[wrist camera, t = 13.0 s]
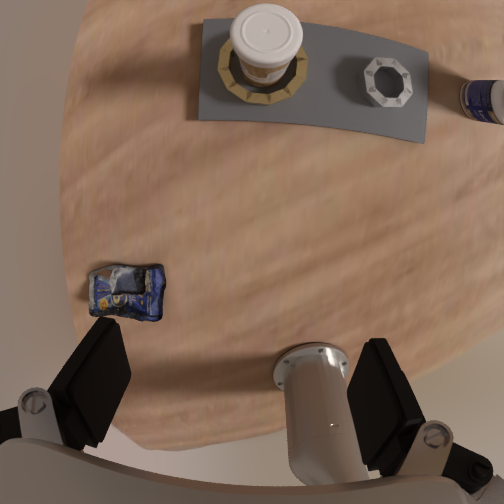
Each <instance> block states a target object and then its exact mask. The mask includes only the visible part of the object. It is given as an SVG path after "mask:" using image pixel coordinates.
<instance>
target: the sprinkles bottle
mask: <svg viewBox="0 0 504 504" xmlns="http://www.w3.org/2000/svg"><path fill="white" fill-rule="evenodd" d="M230 39H231V43H232V46H233V48H234V51H235V52H236V54H237V55H238V57H239V60H240V64H241V69H242V74H243V76H244V78H245V79H246V80H247V81H248V82H249V83H251V84H252V85H254V86H257V87H270V86H273V85H275V84H277V83H278V82H279V81H280V80H281V79H282V78H283V76H284V73H285V71H286V69H287V67H288V65H289V63H290V61H291V59H293V57H294V56H295V55H296V54H297V52H298V50H299V48H300V46H301V43H302V39H303V30H302V27H301V24H300V22H299V20H298V19H297V17H296V16H295V15H294V14H293V13H292V12H290V11H289V10H287V9H286V8H284V7H281V6H279V5H275V4H256V5H253V6H250V7H248V8H246V9H244V10H243V11H241V12H240V13H239V14H238V15H237V16H236V17H235V19H234V20H233V22H232V24H231V28H230Z"/></svg>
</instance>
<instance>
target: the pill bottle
mask: <svg viewBox="0 0 504 504" xmlns="http://www.w3.org/2000/svg"><path fill="white" fill-rule="evenodd" d="M460 101H461V105H462V108H463V110H464V112H465V113H466V114H467V116H468V117H469V118H471V119H472V120H475V121H481V122H488V123H495V124H501V125H504V81H503V80H473V81H467V82H465V83H464V84H463V86H462V87H461V90H460Z"/></svg>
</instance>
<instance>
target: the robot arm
mask: <svg viewBox="0 0 504 504" xmlns="http://www.w3.org/2000/svg"><path fill="white" fill-rule="evenodd" d="M348 372H349V361H348V357H347V356H346V354H345V352H344V351H342V350H341V349H340V348H338V347H336V346H334V345H331V344H326V343H311V344H306V345H302V346H299V347H296V348H294V349H292V350H290V351H288V352H286V353H285V354H284V355H283V356H281V357H280V358H279V360H278V361H277V362H276V364H275V366H274V370H273V378H274V382H275V384H276V386H277V387H278V388H279V389H280V390H282V391H283V392H284V398H285V412H286V426H287V442H288V456H289V457H288V458H289V465H290V468H291V471H292V472H293V474H294V475H295V476H296V478H298V479H299V480H300V481H301V482H302V483H304V484H306V486H287V487H286V486H281V487H280V486H276V487H275V486H274V487H273V486H245V485H231V484H221V483H211V482H204V481H197V480H190V479H184V478H178V477H172V476H167V475H162V474H158V473H153V472H149V471H144V470H140V469H136V468H133V467H129V466H125V465H122V464H118V463H115V462H112V461H108V460H105V459H102V458H99V457H95V456H92V455H89V454H87V453H84V451H83V449H84V447H85V445H88V446H91V447H94V448H97V445H98V443H99V442H103V440H104V438H105V435H106V433H107V431H108V428H109V426H110V424H111V421H112V419H113V417H114V415H115V412H116V410H117V408H118V406H119V403H120V401H121V399H122V397H123V394H124V392H125V390H126V388H127V386H128V383H129V381H130V379H131V370H130V366H129V363H128V359H127V355H126V351H125V347H124V343H123V338H122V334H121V330H120V326H119V324H118V323H116V321H115V319H113V318H107V317H102V316H101V317H99V318H98V320H97V321H96V322H95V323H94V325H93V326H92V327H91V329H90V330H89V331H88V333H87V334H86V336H85V337H84V338H83V340H82V341H81V342H80V344H79V345H78V346H77V348H76V349H75V351H74V352H73V354H72V355H71V356H70V358H69V359H68V361H67V362H66V364H65V365H64V366H63V368H62V369H61V371H60V372H59V374H58V375H57V377H56V378H55V380H54V381H53V382H52V384H51V385H50V387H49V389H48V390H47V391H46V390H44V389H42V388H38V387H36V388H31V389H28V390H26V391H25V392H23V393H22V395H21V396H20V398H19V400H18V406H17V407H14V408H10V409H7V410H3V411H0V504H504V480H503V479H502V478H501V477H500V476H498V475H496V476H494V475H493V467H492V464H491V462H490V461H489V460H488V459H487V458H485V457H484V456H481V455H479V454H477V453H475V452H473V451H470V450H468V449H466V448H464V447H462V446H460V445H458V444H456V443H454V442H453V433H452V431H451V429H450V428H449V427H448V426H447V425H446V424H444V423H443V422H440V421H437V420H432V421H428V422H426V420H425V418H424V416H423V414H422V411H421V409H420V406H419V404H418V402H417V400H416V397H415V395H414V393H413V391H412V389H411V386H410V384H409V382H408V380H407V378H406V376H405V374H404V372H403V371H402V370H401V368H400V366H399V364H398V362H397V360H396V358H395V356H394V354H393V352H392V350H391V348H390V346H389V344H388V342H387V340H386V339H385V338H371V339H370V340H369V342H366V343H365V344H364V347H363V349H362V352H361V355H360V358H359V360H358V363H357V366H356V368H355V371H354V373H353V376H352V378H351V381H350V383H349V386H348V387H347V384H346V381H345V378H346V376H347V374H348ZM365 465H367V468H368V471H373V470H379V471H380V475H381V476H380V478H377V479H371V480H370V479H369V476H368V473H367V470H366V466H365Z"/></svg>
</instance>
